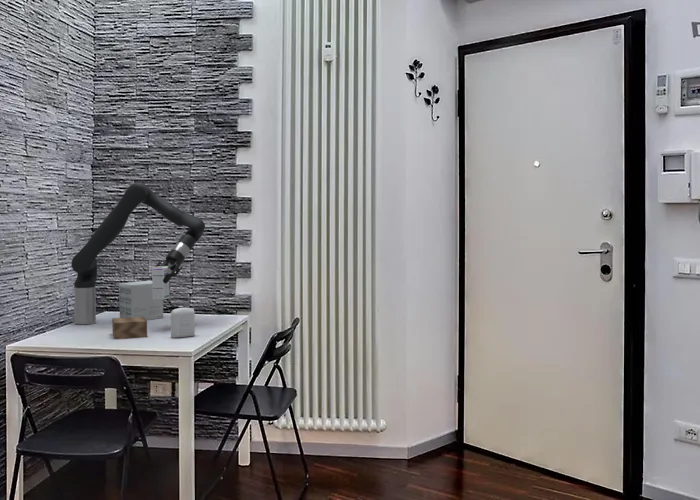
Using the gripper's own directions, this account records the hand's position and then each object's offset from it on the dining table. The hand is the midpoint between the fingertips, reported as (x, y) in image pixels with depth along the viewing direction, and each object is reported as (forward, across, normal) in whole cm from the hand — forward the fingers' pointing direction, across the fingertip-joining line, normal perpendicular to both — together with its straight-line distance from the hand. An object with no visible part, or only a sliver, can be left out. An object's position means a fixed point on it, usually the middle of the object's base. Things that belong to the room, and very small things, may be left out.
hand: (158, 281), depth 300 cm
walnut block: (+27, 0, +5) cm, 27 cm away
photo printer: (+19, +20, +12) cm, 30 cm away
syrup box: (+5, 0, +7) cm, 8 cm away
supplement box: (+3, -33, +29) cm, 44 cm away
